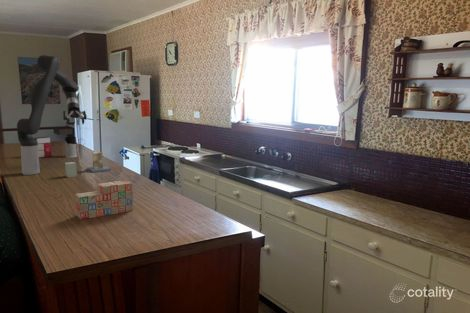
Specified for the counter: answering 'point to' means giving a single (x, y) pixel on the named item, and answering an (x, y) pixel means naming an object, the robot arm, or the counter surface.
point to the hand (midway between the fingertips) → (76, 123)
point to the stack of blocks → (105, 200)
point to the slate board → (98, 169)
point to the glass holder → (71, 147)
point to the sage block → (70, 169)
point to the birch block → (97, 160)
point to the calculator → (44, 146)
